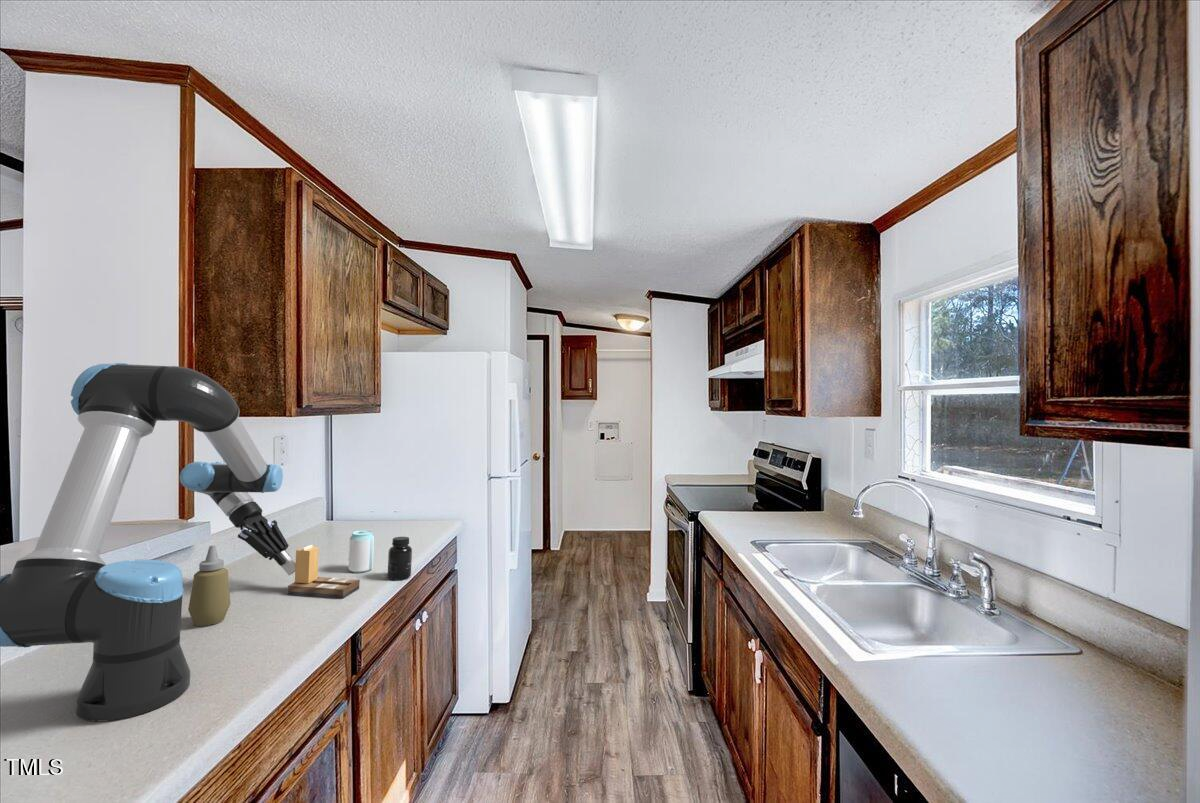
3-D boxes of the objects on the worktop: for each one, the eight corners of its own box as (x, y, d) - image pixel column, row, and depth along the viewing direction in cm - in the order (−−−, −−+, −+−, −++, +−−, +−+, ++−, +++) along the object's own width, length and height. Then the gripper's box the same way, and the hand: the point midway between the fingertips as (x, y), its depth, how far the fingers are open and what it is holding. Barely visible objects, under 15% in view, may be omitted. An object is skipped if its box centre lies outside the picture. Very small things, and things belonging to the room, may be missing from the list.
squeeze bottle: (207, 631, 119) (210, 552, 119) (178, 626, 121) (181, 549, 121) (238, 617, 127) (241, 543, 127) (210, 613, 129) (214, 540, 129)
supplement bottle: (413, 578, 159) (415, 539, 159) (390, 582, 155) (391, 542, 155) (407, 572, 165) (409, 534, 165) (385, 575, 161) (386, 536, 161)
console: (287, 594, 143) (287, 585, 143) (306, 584, 151) (306, 575, 151) (343, 598, 141) (343, 589, 141) (359, 588, 149) (359, 579, 149)
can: (343, 572, 163) (344, 533, 163) (358, 565, 170) (360, 528, 170) (362, 574, 161) (364, 535, 161) (377, 568, 168) (379, 530, 168)
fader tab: (294, 587, 145) (296, 547, 145) (303, 583, 149) (305, 544, 149) (308, 588, 144) (309, 548, 144) (317, 584, 148) (318, 545, 148)
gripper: (249, 513, 155) (299, 573, 154) (213, 522, 142) (268, 588, 141) (267, 496, 155) (317, 556, 153) (232, 504, 142) (287, 569, 140)
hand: (293, 571), depth 147 cm, fingers closed
